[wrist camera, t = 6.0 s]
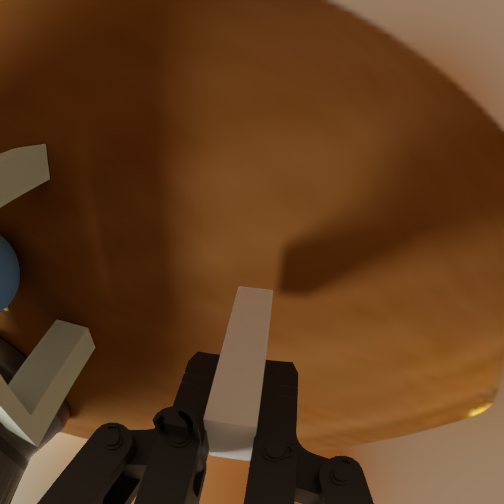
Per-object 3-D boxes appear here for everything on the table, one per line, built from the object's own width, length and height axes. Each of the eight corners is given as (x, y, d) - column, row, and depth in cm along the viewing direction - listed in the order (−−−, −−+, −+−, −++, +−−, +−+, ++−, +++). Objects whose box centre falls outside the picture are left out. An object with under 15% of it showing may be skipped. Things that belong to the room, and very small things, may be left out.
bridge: (45, 143, 13) (-98, 216, 5) (95, 347, 20) (38, 447, 12) (12, 148, 13) (-113, 215, 5) (65, 338, 20) (6, 428, 12)
